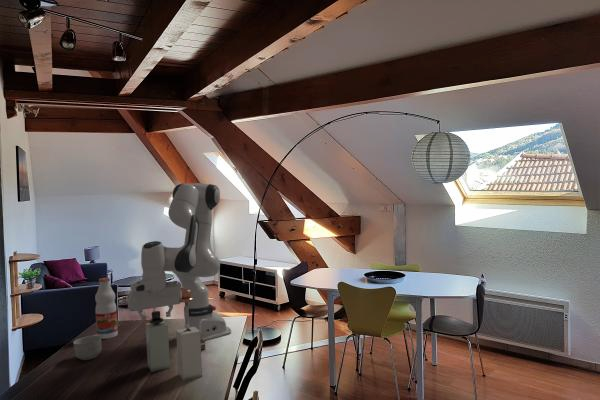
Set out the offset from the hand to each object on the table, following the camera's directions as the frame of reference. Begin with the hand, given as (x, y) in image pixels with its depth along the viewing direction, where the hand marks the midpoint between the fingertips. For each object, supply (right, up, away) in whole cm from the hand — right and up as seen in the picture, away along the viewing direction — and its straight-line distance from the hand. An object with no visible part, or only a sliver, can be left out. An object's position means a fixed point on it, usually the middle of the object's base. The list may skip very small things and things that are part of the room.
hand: (156, 318), depth 192 cm
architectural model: (+13, -19, +18) cm, 29 cm away
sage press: (+1, -19, +1) cm, 19 cm away
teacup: (-33, -20, +17) cm, 42 cm away
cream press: (+15, -19, -10) cm, 26 cm away
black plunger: (+1, -16, +1) cm, 16 cm away
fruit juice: (-36, -19, +44) cm, 60 cm away
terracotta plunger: (+15, -5, -10) cm, 19 cm away
